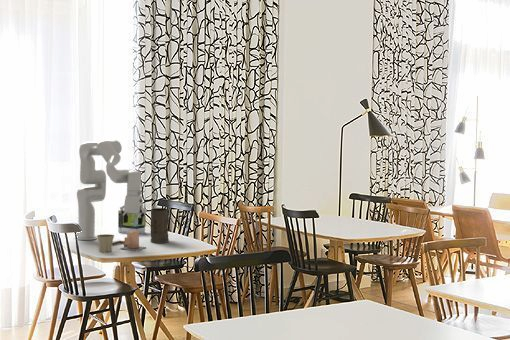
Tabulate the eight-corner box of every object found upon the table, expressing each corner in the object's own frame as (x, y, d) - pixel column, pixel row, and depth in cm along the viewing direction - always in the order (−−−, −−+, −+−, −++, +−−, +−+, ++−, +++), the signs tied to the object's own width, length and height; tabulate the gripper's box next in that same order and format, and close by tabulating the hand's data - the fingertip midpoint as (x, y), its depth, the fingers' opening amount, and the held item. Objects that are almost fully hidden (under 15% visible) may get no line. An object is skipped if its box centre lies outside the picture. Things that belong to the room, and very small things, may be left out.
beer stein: (164, 244, 372) (165, 210, 371) (147, 243, 375) (147, 209, 373) (173, 240, 387) (173, 207, 386) (156, 239, 390) (156, 206, 388)
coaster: (120, 249, 353) (120, 248, 353) (131, 246, 362) (131, 245, 362) (135, 250, 349) (135, 249, 349) (146, 248, 358) (146, 247, 358)
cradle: (109, 245, 364) (109, 242, 364) (120, 243, 373) (120, 240, 373) (125, 247, 360) (125, 244, 360) (135, 244, 369) (135, 242, 368)
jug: (131, 246, 360) (131, 230, 359) (141, 246, 357) (141, 231, 357) (121, 249, 350) (120, 232, 350) (130, 249, 348) (130, 233, 347)
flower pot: (98, 249, 351) (98, 234, 350) (115, 249, 352) (115, 234, 351) (95, 252, 342) (95, 236, 341) (113, 252, 342) (113, 236, 342)
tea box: (145, 232, 414) (145, 210, 413) (134, 234, 405) (134, 211, 404) (128, 230, 422) (128, 208, 421) (117, 232, 413) (117, 209, 412)
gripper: (150, 193, 354) (149, 224, 355) (124, 191, 361) (124, 221, 362) (142, 195, 347) (142, 226, 348) (116, 192, 354) (116, 222, 355)
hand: (132, 223), depth 355 cm, fingers open, 9 cm apart
